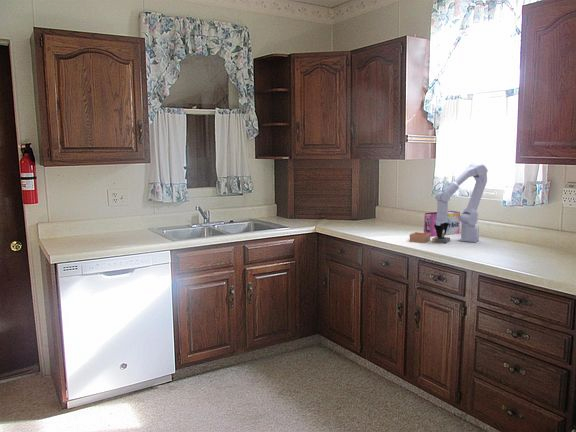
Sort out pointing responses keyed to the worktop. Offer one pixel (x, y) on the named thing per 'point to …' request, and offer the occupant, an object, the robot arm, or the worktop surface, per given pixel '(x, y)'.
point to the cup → (420, 237)
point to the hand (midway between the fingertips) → (441, 236)
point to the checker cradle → (441, 240)
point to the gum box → (452, 219)
